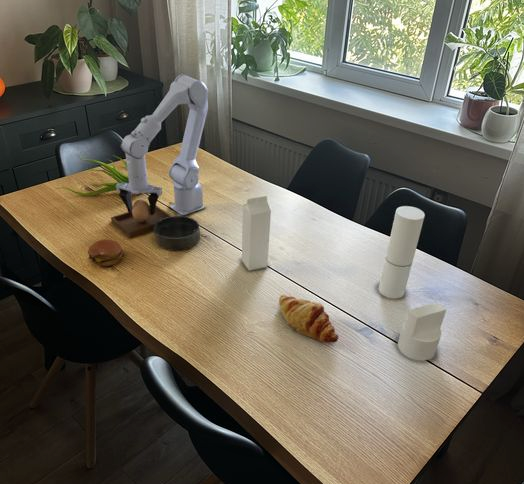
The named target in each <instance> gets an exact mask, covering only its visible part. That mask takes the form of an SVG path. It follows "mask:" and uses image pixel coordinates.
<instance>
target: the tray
mask: <svg viewBox="0 0 524 484" xmlns="http://www.w3.org/2000/svg"><path fill="white" fill-rule="evenodd" d="M148 205H149V206H150V204H148ZM171 216H172V215H170V214H169V213H167V212H166V211H165V210H163V209H162V208H160V207H159V206H158V205H156V207H155V213H154V214H153V215H151V216H150V218H149V219H148V220H147V221H146V222H138V221H137V220H136V219H135V218H134V217H133V214H132V211H131V212H128V211H127V212H123V213H121V214H117V215H114V216H111V217H110V220H111V221H110V222H111V224H112V225H113V226H115V227H116V228H117V229H118V230H120V232H122V233H123V235H125V236H127V237H128V238H129V239H132V238H135V237H138V236H141V235H143V234H146V233H148V232H149V233H150V232H152V231H154V230H153V228H154V225H155V224H156V222H157V221H159V220H161V219H163V218H166V217H171Z"/></svg>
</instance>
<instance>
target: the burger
mask: <svg viewBox="0 0 524 484" xmlns="http://www.w3.org/2000/svg"><path fill="white" fill-rule="evenodd" d="M87 254H88V259H89V260H91V263H93V264H94V265H100V266H102V267H109V266H113V265H115V264H117V263H118V262H120V261H121V258H122V257H123V255H124V249H123V248H122V245H121V244H120V243H119V242H118V241H116V240H112V239H108V238H107V239H105V238H103V239H99V240H96V241H94V242H93V243H91V244H90V246H89V247H88V249H87Z"/></svg>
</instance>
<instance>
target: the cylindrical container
mask: <svg viewBox="0 0 524 484" xmlns="http://www.w3.org/2000/svg"><path fill="white" fill-rule="evenodd" d="M394 213H395V214H394V218H393V219H394V220H393V222H392V228H391V232H390V236H389V241H388V245H387V248H386V249H387V250H386V253H385V258H384V263H383V267H382V272H381V276H380V280H379V281H380V282H379V284H378V292H379V293H380V294H381V295H382V296H384V297H386V298H388V299H400V298H403V297H404V295H405V292H406V289H407V284H408V281H409V277H410V273H411V269H412V266H413V262H414V259H415V255H416V250H417V248H418V247H417V246H418V243H419V239H420V235H421V231H422V229H423V228H422V227H423V223H424V220H425V217H426V215H425V212H424V211H423V210H421V209H420V208H418V207H415V206H408V205H402V206H399V207H397V208H396V210H395V212H394Z"/></svg>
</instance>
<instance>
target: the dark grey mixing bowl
mask: <svg viewBox="0 0 524 484" xmlns="http://www.w3.org/2000/svg"><path fill="white" fill-rule="evenodd" d="M170 216H171V217H166V218H163V219H161V220H159V221H157V222H156V224H155V225H154V228H153V230H152V231H153V240H154V242H155V244H156V245H157V246H158V247H160V248H161V249H164V250H169V251H182V250H187V249H190V248H193V247H194V246H196V245H197V244H198V243H199V242H200V240H201V229H200V227H201V226H200V225H201V224H200V223H199V222H198V221H197V220H196V219H195V218H192V217H189V216H186V215H170Z"/></svg>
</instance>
